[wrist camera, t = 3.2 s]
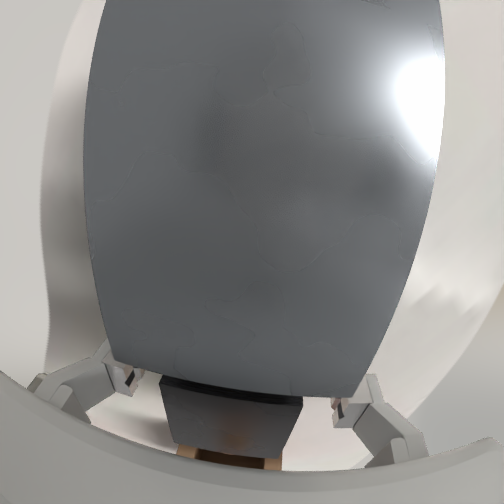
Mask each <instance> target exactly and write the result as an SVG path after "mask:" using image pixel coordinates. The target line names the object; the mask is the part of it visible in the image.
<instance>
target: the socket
mask: <svg viewBox="0 0 504 504" xmlns="http://www.w3.org/2000/svg"><path fill="white" fill-rule="evenodd" d="M176 455H180V456H184V457H189V458H193V459H197V460H202V461H207V462H213V463H218V464H224V465H230V466H237V467H245V468H254V469H265V470H279V471H281V469H282V452H281V454H280V456H279V458H278V459H270V458H258V457H249V456H241V455H230V454H225V453H221V452H215V451H210V450H205V449H200V448H195V447H191V446H187V445H182V444H179V447H178V450H177V453H176Z"/></svg>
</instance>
